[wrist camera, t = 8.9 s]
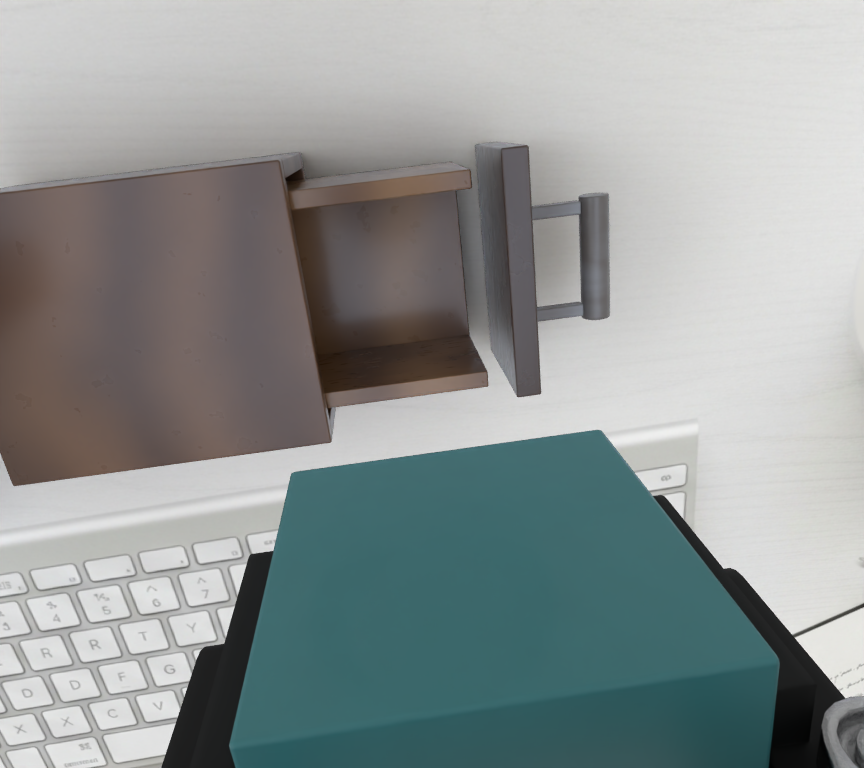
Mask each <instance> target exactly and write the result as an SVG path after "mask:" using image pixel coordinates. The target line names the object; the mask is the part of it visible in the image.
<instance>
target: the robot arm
mask: <svg viewBox="0 0 864 768" xmlns="http://www.w3.org/2000/svg"><path fill="white" fill-rule="evenodd" d="M653 497H654V498H655V500H656V501H657V502H658V504H659V505H660V506H661V507H662V509H663V510H664V511H665V513H666V514H667V515H668V516H669V518H670V519H671V520H672V522H673V523H674V524H675V525H676V527H677V528H678V529H679V531H680V532H681V533H682V534H683V536H684V537H685V538H686V540H687V541H688V542H689V543H690V545H691V546H692V547H693V549H694V550H695V551H696V552H697V554H698V555H699V556H700V557H701V559H702V560H703V561H704V563H705V564H706V565H707V566H708V568H709V569H710V570H711V572H712V573H713V574H714V575H715V577H716V578H717V579H718V581H719V582H720V583H721V584H722V586H723V587H724V588H725V590H726V591H727V592H728V593H729V595H730V596H731V597H732V599H733V600H734V601H735V602H736V604H737V605H738V606H739V608H740V609H741V610H742V611H743V613H744V614H745V615H746V616H747V618H748V619H749V620H750V622H751V623H752V624H753V625H754V627H755V628H756V629H757V631H758V632H759V633H760V634H761V636H762V637H763V638H764V640H765V641H766V642H767V643H768V645H769V646H770V647H771V649H772V650H773V651H774V652H775V654H776V655H777V657H778V659H779V663H780V667H779V676H778V685H777V695H776V704H775V713H774V722H773V732H772V741H771V750H770V759H769V768H864V696H860V697H849V698H846V699H845V697H844V696H843V695H842V694H841V693H840V692H839V690H838V689H837V688H836V687H835V686H834V684H833V683H832V682H831V681H830V680H829V678H828V677H827V676H826V675H825V674H824V672H823V671H822V670H821V669H820V668H819V667H818V665H817V664H816V663H815V662H814V661H813V659H812V658H811V657H810V656H809V655H808V653H807V652H806V651H805V650H804V649H803V648H802V646H801V645H800V644H799V643H798V642H797V640H796V639H795V638H794V637H793V636H792V634H791V633H790V632H789V631H788V630H787V628H786V627H785V626H784V625H783V624H782V623H781V621H780V620H779V619H778V618H777V617H776V615H775V614H774V613H773V612H772V611H771V609H770V608H769V607H768V606H767V605H766V604H765V602H764V601H763V600H762V599H761V598H760V596H759V595H758V594H757V593H756V592H755V590H754V589H753V588H752V587H751V586H750V584H749V583H748V582H747V581H746V580H745V579H744V577H743V576H742V575H741V574H740V573H738V572H737V571H736V570H734V569H731V568H727V569H723V568H722V566H721V565H720V564H719V563H718V561H717V560H716V559H715V558H714V556H713V555H712V554H711V553H710V552H709V550H708V549H707V548H706V547H705V545H704V544H703V543H702V542H701V540H700V539H699V538H698V537H697V536H696V534H695V533H694V532H693V531H692V529H691V528H690V527H689V526H688V524H687V523H686V522H685V521H684V520H683V518H682V517H681V516H680V515H679V513H678V512H677V511H676V510H675V508H674V507H673V506H672V505H671V503H670V502H669V501H668V500H667V499H666V498H665V497H664V496H662V495H658V496H653ZM272 556H273V551H270V552H263V553H256V554H251V555H250V556H249V559H248V562H247V566H246V569H245V573H244V576H243V580H242V583H241V587H240V590H239V594H238V597H237V601H236V604H235V608H234V612H233V615H232V619H231V622H230V626H229V629H228V633H227V636H226V640H225V643H224V644H220V645H214V646H207V647H204V648H203V649H202V650H201V651H200V653H199V656H198V658H197V660H196V663H195V666H194V670H193V673H192V676H191V679H190V682H189V685H188V688H187V691H186V694H185V697H184V700H183V703H182V706H181V709H180V712H179V715H178V719H177V722H176V725H175V728H174V731H173V734H172V737H171V740H170V743H169V746H168V749H167V752H166V755H165V758H164V761H163V764H162V768H236V767H235V764H234V761H233V757H232V754H231V751H230V747H229V744H230V740H231V735H232V731H233V726H234V722H235V718H236V713H237V709H238V705H239V700H240V696H241V691H242V687H243V683H244V678H245V674H246V670H247V665H248V661H249V656H250V652H251V648H252V643H253V639H254V635H255V630H256V626H257V621H258V617H259V613H260V608H261V604H262V600H263V595H264V591H265V586H266V582H267V578H268V573H269V569H270V565H271V560H272Z"/></svg>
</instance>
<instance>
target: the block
mask: <svg viewBox="0 0 864 768" xmlns="http://www.w3.org/2000/svg"><path fill="white" fill-rule="evenodd" d="M779 667H780V663H779V659H778V657H777V655H776V654H775V652H774V651H773V650H772V649H771V647H770V646H769V645H768V643H767V642H766V641H765V640H764V638H763V637H762V636H761V634H760V633H759V632H758V631H757V629H756V628H755V627H754V625H753V624H752V623H751V622H750V620H749V619H748V618H747V616H746V615H745V614H744V613H743V611H742V610H741V609H740V608H739V606H738V605H737V604H736V602H735V601H734V600H733V599H732V597H731V596H730V595H729V593H728V592H727V591H726V590H725V588H724V587H723V586H722V584H721V583H720V582H719V581H718V579H717V578H716V577H715V575H714V574H713V573H712V572H711V570H710V569H709V568H708V566H707V565H706V564H705V563H704V561H703V560H702V559H701V557H700V556H699V555H698V554H697V552H696V551H695V550H694V549H693V547H692V546H691V545H690V543H689V542H688V541H687V540H686V538H685V537H684V536H683V534H682V533H681V532H680V531H679V529H678V528H677V527H676V525H675V524H674V523H673V522H672V520H671V519H670V518H669V516H668V515H667V514H666V513H665V511H664V510H663V509H662V507H661V506H660V505H659V504H658V502H657V501H656V500H655V498H654V497H653V496H652V495H651V493H650V492H649V491H648V490H647V488H646V487H645V486H644V484H643V483H642V482H641V481H640V479H639V478H638V477H637V475H636V474H635V473H634V472H633V470H632V469H631V468H630V466H629V465H628V464H627V463H626V461H625V460H624V459H623V457H622V456H621V455H620V454H619V452H618V451H617V450H616V448H615V447H614V446H613V445H612V443H611V442H610V441H609V439H608V438H607V437H606V436H605V434H604V433H603V432H602V431H601V430H593V431H585V432H578V433H571V434H564V435H557V436H550V437H542V438H535V439H528V440H521V441H514V442H506V443H499V444H492V445H485V446H478V447H471V448H463V449H456V450H449V451H442V452H435V453H427V454H420V455H413V456H406V457H399V458H392V459H384V460H377V461H370V462H363V463H356V464H348V465H341V466H334V467H327V468H320V469H313V470H305V471H298V472H294V473H292V474H291V477H290V481H289V486H288V490H287V495H286V499H285V503H284V508H283V512H282V516H281V521H280V525H279V530H278V534H277V538H276V543H275V547H274V551H273V556H272V560H271V565H270V569H269V573H268V578H267V582H266V586H265V591H264V595H263V600H262V604H261V608H260V613H259V617H258V621H257V626H256V630H255V635H254V639H253V643H252V648H251V652H250V656H249V661H248V665H247V670H246V674H245V678H244V683H243V687H242V691H241V696H240V700H239V705H238V709H237V713H236V718H235V722H234V726H233V731H232V735H231V740H230V744H229V747H230V751H231V754H232V757H233V761H234V764H235V767H236V768H769V759H770V750H771V741H772V732H773V722H774V713H775V704H776V695H777V685H778V676H779Z"/></svg>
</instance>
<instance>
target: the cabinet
mask: <svg viewBox="0 0 864 768" xmlns="http://www.w3.org/2000/svg"><path fill="white" fill-rule="evenodd" d="M302 179H306V177H305V172H304V166H303V160H302V154H301V152H296V153H288V154H279V155H271V156H262V157H254V158H245V159H237V160H229V161H220V162H212V163H203V164H195V165H186V166H178V167H169V168H161V169H152V170H144V171H135V172H127V173H118V174H110V175H101V176H93V177H85V178H76V179H68V180H59V181H51V182H42V183H34V184H25V185H17V186H11V187H5V188H0V453H1V456H2V458H3V461H4V464H5V466H6V469H7V471H8V474H9V476H10V479H11V481H12V484H13V486H19V485H26V484H34V483H41V482H48V481H55V480H63V479H70V478H77V477H84V476H92V475H99V474H106V473H113V472H121V471H128V470H135V469H142V468H150V467H157V466H164V465H172V464H179V463H186V462H193V461H201V460H208V459H215V458H222V457H230V456H237V455H244V454H251V453H259V452H266V451H273V450H280V449H288V448H295V447H302V446H310V445H317V444H324V443H330V442H331V441H332V434H333V425H334V417H335V408H336V407H332V408H327V403H326V398H325V392H324V387H323V381H322V376H321V371H320V365H319V360H318V354H317V349H316V343H315V338H314V332H313V327H312V321H311V316H310V310H309V305H308V300H307V294H306V289H305V283H304V278H303V272H302V267H301V261H300V256H299V250H298V245H297V240H296V234H295V229H294V223H293V218H292V212H291V207H290V201H289V196H288V190H287V185H286V181H294V180H302Z"/></svg>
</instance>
